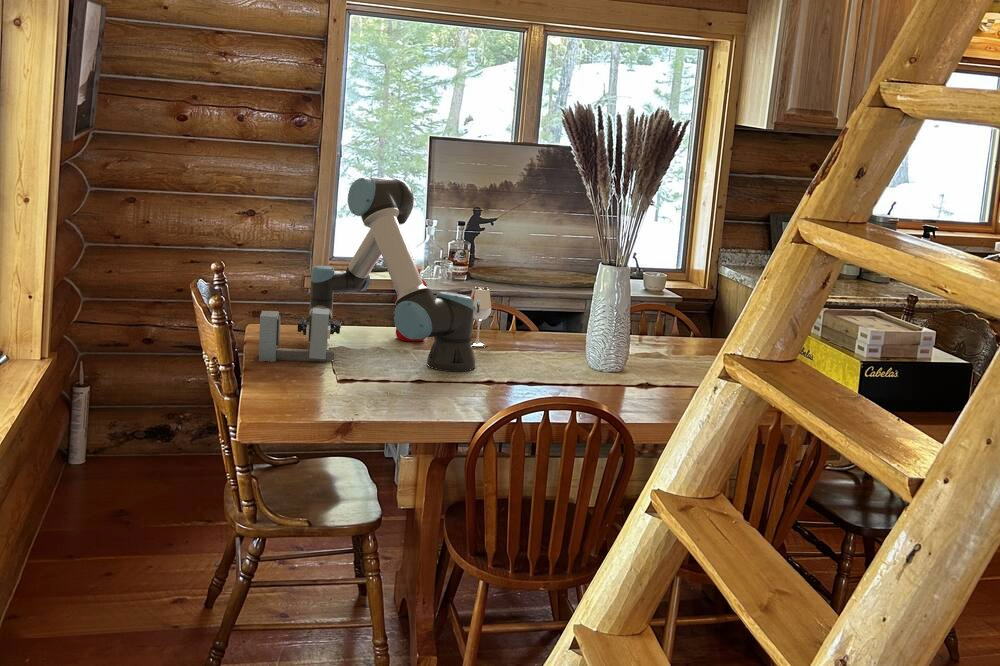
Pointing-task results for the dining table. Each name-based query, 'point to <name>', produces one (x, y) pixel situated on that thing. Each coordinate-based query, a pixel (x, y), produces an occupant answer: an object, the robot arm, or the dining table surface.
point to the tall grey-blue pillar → (318, 333)
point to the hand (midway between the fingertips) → (318, 333)
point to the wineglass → (480, 308)
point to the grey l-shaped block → (271, 339)
